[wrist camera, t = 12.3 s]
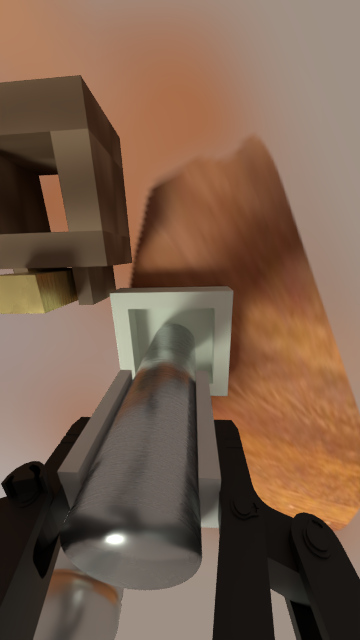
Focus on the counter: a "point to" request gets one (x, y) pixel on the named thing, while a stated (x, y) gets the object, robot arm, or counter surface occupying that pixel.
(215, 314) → the tray
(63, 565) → the plastic bottle
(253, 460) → the counter surface
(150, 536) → the grey metal peg
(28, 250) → the socket block
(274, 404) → the counter surface
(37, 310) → the brass block
